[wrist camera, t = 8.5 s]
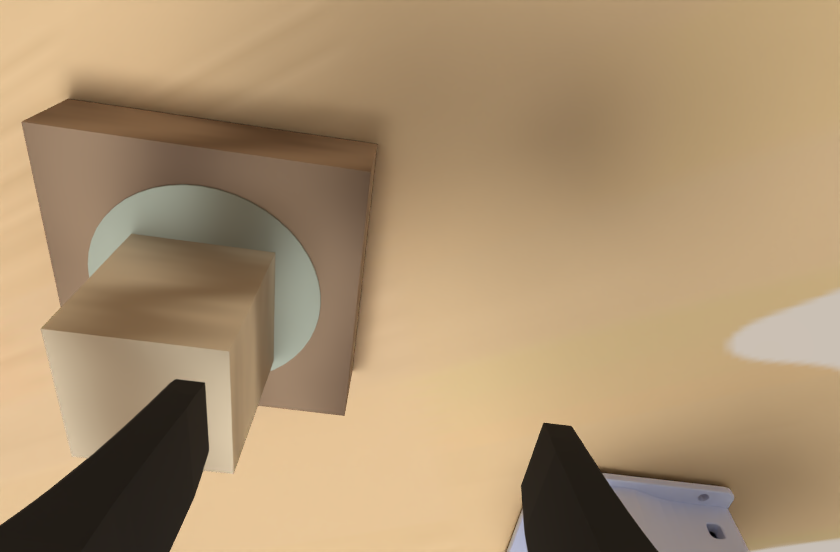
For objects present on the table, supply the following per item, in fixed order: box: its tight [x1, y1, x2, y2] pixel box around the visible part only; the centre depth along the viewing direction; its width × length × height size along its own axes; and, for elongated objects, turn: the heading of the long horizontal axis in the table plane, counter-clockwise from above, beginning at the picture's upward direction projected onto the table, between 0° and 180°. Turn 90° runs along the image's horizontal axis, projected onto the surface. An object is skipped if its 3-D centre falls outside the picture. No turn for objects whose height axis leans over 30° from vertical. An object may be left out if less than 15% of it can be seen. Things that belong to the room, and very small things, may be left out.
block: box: [41, 234, 275, 474], centre depth 18 cm, size 4×4×5 cm
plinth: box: [22, 99, 377, 416], centre depth 21 cm, size 10×10×3 cm
